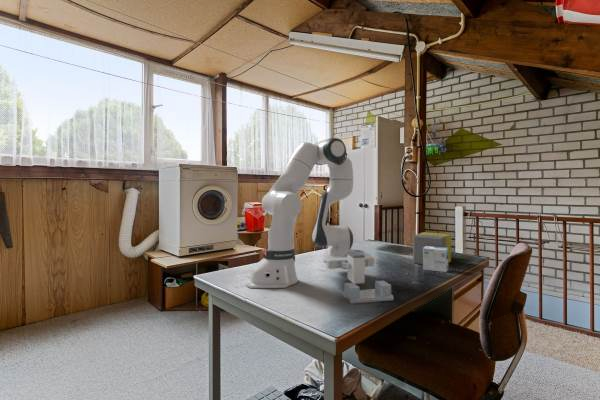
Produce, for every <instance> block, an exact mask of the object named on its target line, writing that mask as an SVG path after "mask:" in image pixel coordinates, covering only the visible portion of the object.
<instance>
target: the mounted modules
mask: <svg viewBox="0 0 600 400" xmlns="http://www.w3.org/2000/svg"><path fill="white" fill-rule="evenodd" d="M374 289H375V291H377V292H378V293H379V294H381V295H382V296H383V295H392V284H390V283H388V282H387V281H385V280H374ZM360 290H361V287H360V286H358V285H357V283H356V284H355V283H352V282H345V283H344V291H345V293H346V294H347V295H348V296H349V297H350V298H359V297H360Z"/></svg>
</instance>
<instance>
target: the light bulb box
mask: <svg viewBox="0 0 600 400" xmlns="http://www.w3.org/2000/svg"><path fill="white" fill-rule="evenodd" d="M422 269H423V271H424V270H425V271H426V270H427V271H433V272H434V271H435V272H440V273H447V272H448V270H449V263H448V248H443V247H430V246H425V247H424V248H423V265H422Z"/></svg>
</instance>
